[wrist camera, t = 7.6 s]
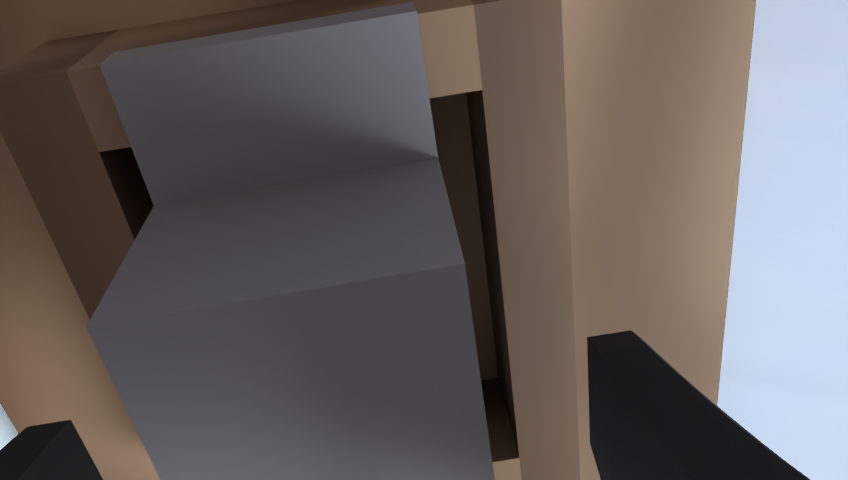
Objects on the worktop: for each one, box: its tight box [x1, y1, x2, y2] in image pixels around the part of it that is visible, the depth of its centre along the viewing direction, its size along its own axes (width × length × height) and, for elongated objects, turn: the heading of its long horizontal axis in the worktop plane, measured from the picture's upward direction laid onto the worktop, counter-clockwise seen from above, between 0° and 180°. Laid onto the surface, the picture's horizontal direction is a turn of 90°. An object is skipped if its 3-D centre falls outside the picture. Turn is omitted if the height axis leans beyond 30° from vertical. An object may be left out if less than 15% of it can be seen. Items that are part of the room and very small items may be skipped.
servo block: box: [86, 2, 495, 480], centre depth 11 cm, size 4×10×7 cm, turn 8°
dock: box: [0, 0, 756, 480], centre depth 13 cm, size 16×16×3 cm
